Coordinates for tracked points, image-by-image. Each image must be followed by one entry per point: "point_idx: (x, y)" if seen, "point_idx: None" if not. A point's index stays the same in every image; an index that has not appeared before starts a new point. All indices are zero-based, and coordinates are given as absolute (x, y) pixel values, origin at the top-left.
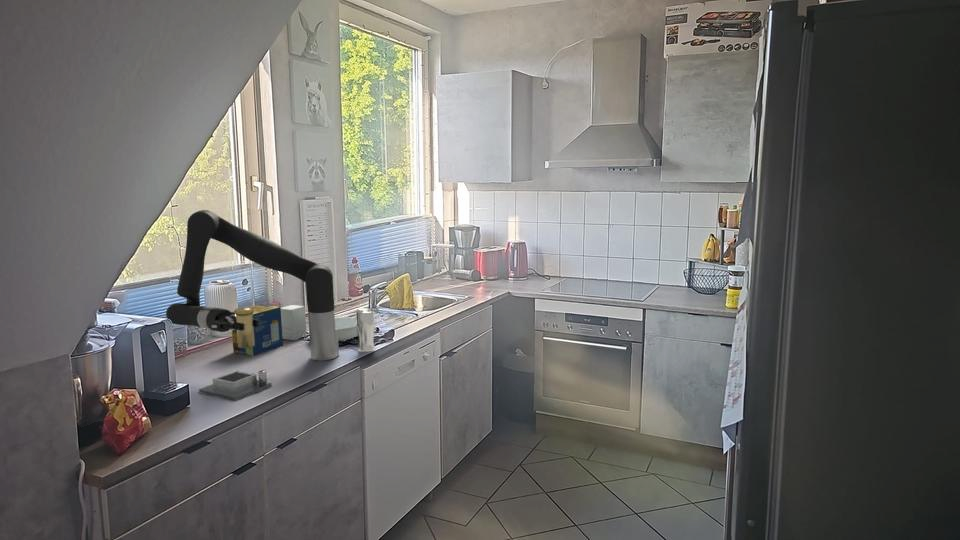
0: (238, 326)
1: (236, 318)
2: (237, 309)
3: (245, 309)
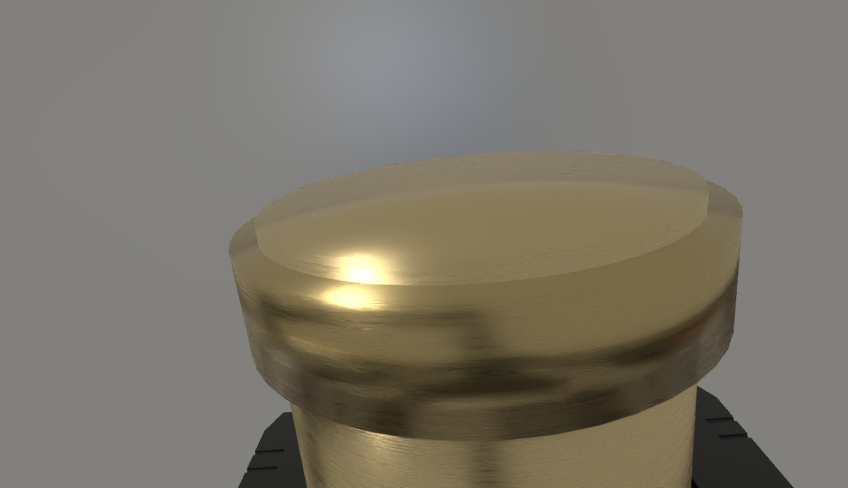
0: (710, 413)
1: (693, 412)
2: (636, 194)
3: (491, 166)
